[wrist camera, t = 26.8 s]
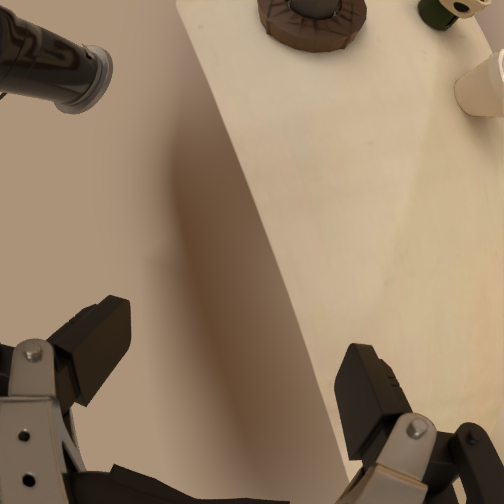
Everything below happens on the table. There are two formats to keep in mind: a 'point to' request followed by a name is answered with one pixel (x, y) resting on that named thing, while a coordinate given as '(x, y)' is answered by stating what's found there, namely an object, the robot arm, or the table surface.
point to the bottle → (314, 8)
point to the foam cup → (483, 88)
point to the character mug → (449, 11)
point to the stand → (313, 25)
